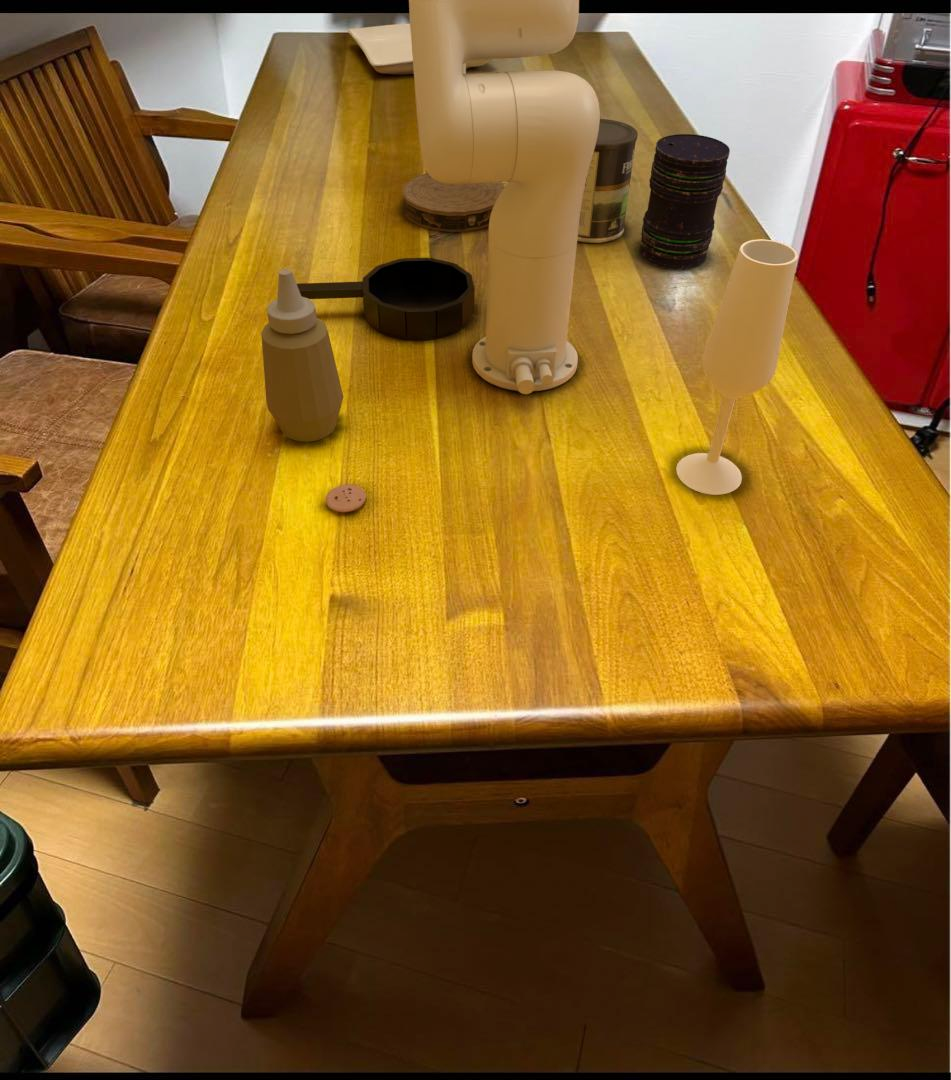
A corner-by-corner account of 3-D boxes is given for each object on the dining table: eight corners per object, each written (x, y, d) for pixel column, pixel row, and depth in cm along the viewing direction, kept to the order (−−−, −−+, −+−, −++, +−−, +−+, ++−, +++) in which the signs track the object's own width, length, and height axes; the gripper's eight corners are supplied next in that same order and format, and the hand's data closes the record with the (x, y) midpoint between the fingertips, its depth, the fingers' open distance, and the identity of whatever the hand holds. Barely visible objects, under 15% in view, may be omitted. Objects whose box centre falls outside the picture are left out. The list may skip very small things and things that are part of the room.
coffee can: (626, 217, 131) (640, 121, 121) (621, 246, 124) (635, 147, 114) (560, 210, 132) (568, 115, 122) (551, 239, 125) (559, 140, 115)
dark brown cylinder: (710, 244, 125) (733, 138, 114) (704, 274, 118) (728, 165, 107) (642, 235, 127) (659, 130, 116) (633, 264, 120) (650, 155, 109)
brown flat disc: (508, 191, 137) (509, 173, 135) (500, 234, 126) (501, 215, 124) (411, 186, 138) (410, 167, 136) (395, 228, 127) (394, 208, 125)
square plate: (347, 45, 195) (346, 26, 192) (461, 38, 201) (461, 19, 198) (373, 81, 176) (372, 61, 174) (497, 72, 182) (498, 52, 180)
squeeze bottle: (311, 396, 96) (288, 244, 83) (362, 424, 92) (346, 269, 80) (255, 429, 91) (223, 273, 79) (306, 460, 88) (281, 302, 75)
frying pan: (478, 338, 105) (478, 309, 102) (282, 345, 103) (278, 316, 100) (468, 283, 115) (468, 255, 112) (289, 289, 113) (285, 261, 110)
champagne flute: (662, 472, 87) (711, 251, 70) (700, 444, 91) (755, 227, 74) (717, 504, 84) (783, 279, 67) (754, 474, 87) (825, 253, 70)
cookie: (375, 499, 83) (374, 492, 83) (344, 520, 81) (343, 512, 80) (348, 482, 85) (347, 474, 84) (317, 502, 83) (316, 494, 82)
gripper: (420, 31, 130) (423, 155, 143) (425, 61, 119) (428, 191, 132) (469, 31, 130) (468, 154, 143) (478, 60, 120) (476, 190, 133)
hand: (449, 171), depth 138 cm, fingers closed
